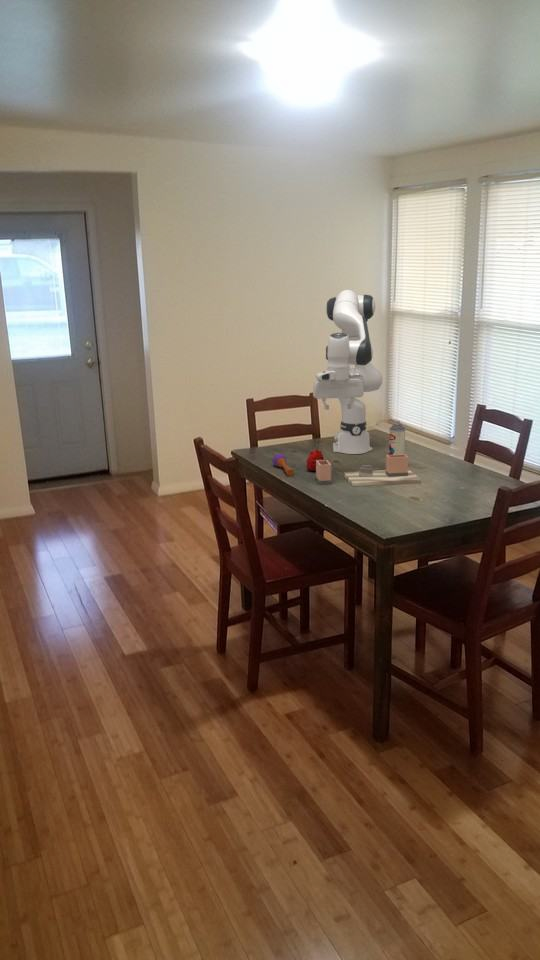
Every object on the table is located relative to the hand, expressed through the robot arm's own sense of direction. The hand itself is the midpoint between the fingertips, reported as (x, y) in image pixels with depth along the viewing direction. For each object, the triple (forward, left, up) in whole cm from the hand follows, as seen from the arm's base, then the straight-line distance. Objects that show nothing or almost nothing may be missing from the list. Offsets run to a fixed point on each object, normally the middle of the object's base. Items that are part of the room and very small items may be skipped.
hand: (338, 409), depth 298 cm
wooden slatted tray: (+5, +17, -29) cm, 34 cm away
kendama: (-15, -20, -29) cm, 39 cm away
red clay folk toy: (-13, -7, -29) cm, 32 cm away
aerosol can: (-14, +29, -29) cm, 43 cm away
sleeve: (+4, -7, -29) cm, 30 cm away
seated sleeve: (+5, +24, -27) cm, 37 cm away
